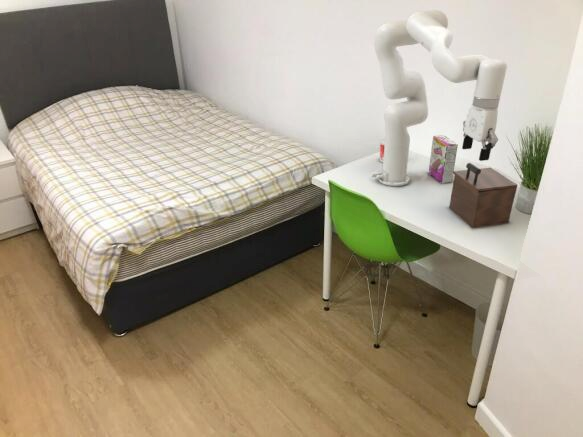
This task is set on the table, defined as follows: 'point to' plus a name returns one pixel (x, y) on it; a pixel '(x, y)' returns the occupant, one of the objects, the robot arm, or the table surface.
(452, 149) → the candy bar box
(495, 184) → the lid
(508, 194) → the storage box
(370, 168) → the table surface
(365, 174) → the table surface
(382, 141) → the beverage cup
